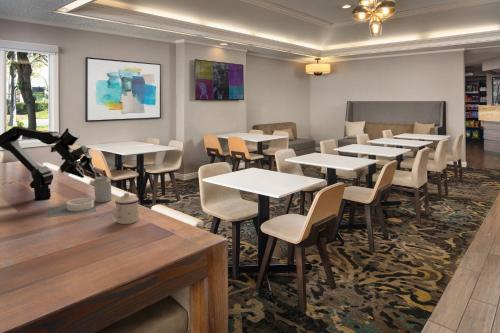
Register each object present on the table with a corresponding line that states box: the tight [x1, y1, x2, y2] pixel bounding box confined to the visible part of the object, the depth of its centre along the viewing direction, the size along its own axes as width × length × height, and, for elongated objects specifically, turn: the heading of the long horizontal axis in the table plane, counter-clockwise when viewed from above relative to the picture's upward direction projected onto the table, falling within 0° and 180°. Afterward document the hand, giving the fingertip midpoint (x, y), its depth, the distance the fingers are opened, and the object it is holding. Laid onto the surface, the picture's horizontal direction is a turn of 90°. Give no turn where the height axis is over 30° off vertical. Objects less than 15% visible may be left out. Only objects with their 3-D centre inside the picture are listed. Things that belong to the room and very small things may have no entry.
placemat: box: [47, 203, 97, 218], centre depth 168 cm, size 19×16×1 cm
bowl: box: [66, 197, 95, 211], centre depth 171 cm, size 11×11×3 cm
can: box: [93, 175, 113, 203], centre depth 182 cm, size 8×8×12 cm
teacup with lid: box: [112, 192, 140, 225], centre depth 152 cm, size 12×9×12 cm
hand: (89, 175), depth 182 cm, fingers open, 9 cm apart
